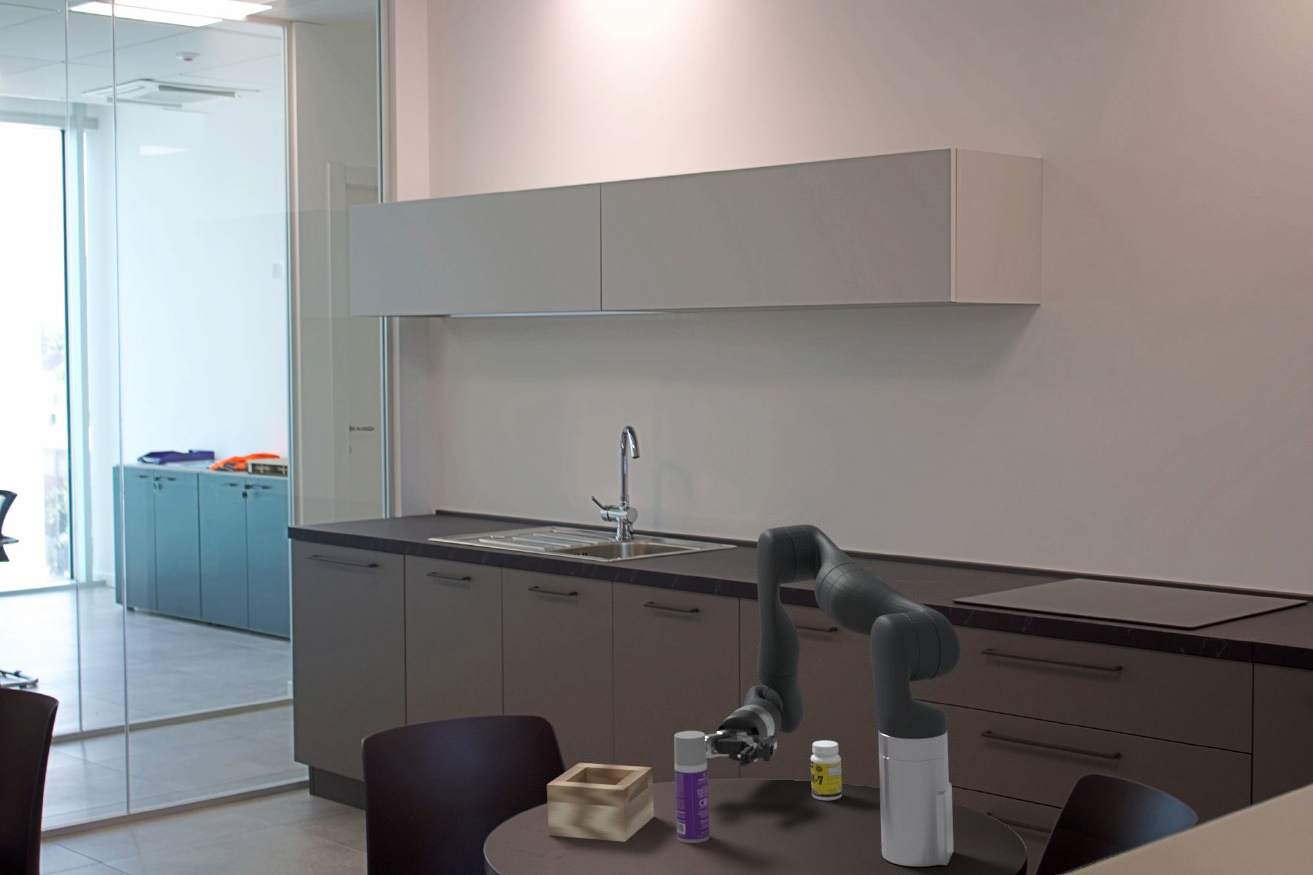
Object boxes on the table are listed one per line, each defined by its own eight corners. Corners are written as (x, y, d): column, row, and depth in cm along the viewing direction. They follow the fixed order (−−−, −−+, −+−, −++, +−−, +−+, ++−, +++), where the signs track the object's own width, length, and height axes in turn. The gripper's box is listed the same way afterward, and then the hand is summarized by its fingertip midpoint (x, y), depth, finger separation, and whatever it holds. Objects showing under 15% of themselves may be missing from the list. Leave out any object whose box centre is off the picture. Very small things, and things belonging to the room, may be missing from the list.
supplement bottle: (806, 795, 218) (804, 742, 218) (831, 790, 220) (829, 737, 220) (822, 802, 214) (820, 748, 213) (848, 797, 216) (846, 744, 215)
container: (706, 843, 196) (703, 739, 196) (674, 842, 197) (670, 738, 197) (712, 833, 201) (708, 730, 200) (680, 832, 202) (676, 730, 201)
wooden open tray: (653, 816, 210) (652, 767, 209) (625, 841, 198) (623, 789, 198) (581, 810, 214) (579, 762, 214) (548, 835, 203) (546, 784, 202)
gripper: (703, 707, 227) (670, 731, 212) (788, 711, 222) (760, 736, 207) (705, 752, 227) (672, 779, 212) (789, 757, 222) (762, 785, 207)
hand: (715, 758), depth 210 cm, fingers open, 8 cm apart
